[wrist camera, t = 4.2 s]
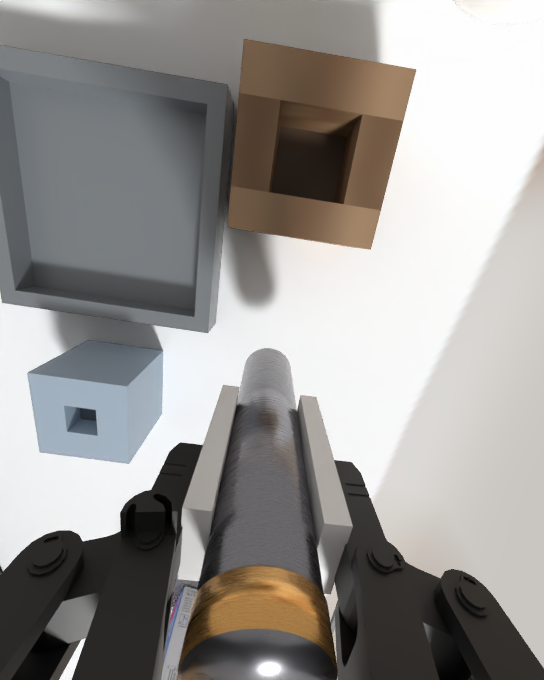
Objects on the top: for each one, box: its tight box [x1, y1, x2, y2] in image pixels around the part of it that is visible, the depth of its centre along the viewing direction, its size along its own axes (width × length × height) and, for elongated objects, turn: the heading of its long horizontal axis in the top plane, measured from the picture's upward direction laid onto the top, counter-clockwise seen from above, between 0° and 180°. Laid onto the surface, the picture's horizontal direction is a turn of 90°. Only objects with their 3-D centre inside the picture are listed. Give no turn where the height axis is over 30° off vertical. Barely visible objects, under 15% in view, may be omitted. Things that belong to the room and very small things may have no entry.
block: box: [27, 340, 163, 464], centre depth 21 cm, size 6×6×6 cm
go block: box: [227, 39, 416, 249], centre depth 17 cm, size 8×8×4 cm
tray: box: [0, 45, 234, 333], centre depth 19 cm, size 14×14×2 cm
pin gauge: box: [178, 348, 338, 680], centre depth 12 cm, size 3×3×14 cm
